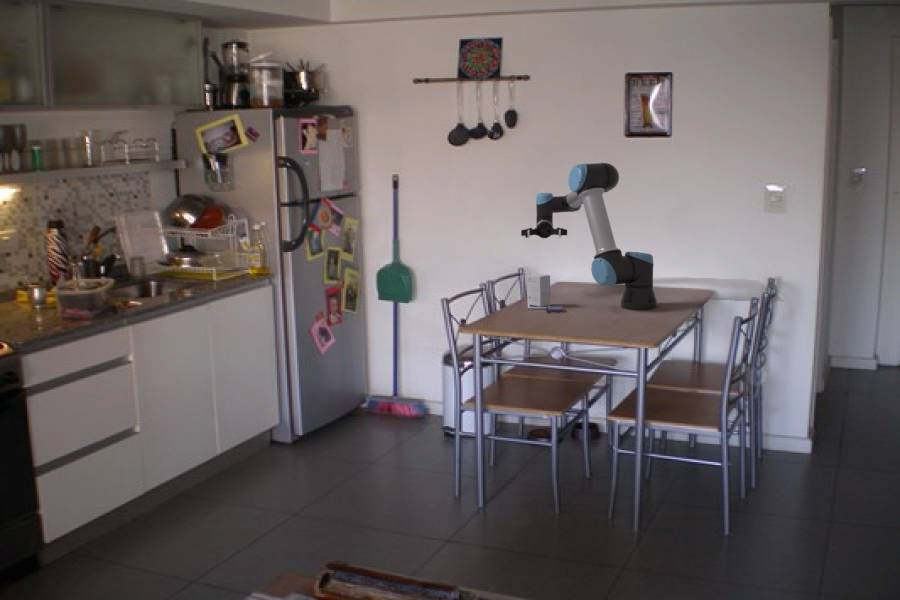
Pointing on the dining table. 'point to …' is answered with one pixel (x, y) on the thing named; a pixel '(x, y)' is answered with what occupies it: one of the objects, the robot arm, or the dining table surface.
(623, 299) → the robot arm
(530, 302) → the small box
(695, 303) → the dining table surface
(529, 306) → the print card
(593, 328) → the dining table surface
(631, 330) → the dining table surface
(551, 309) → the ink pad
